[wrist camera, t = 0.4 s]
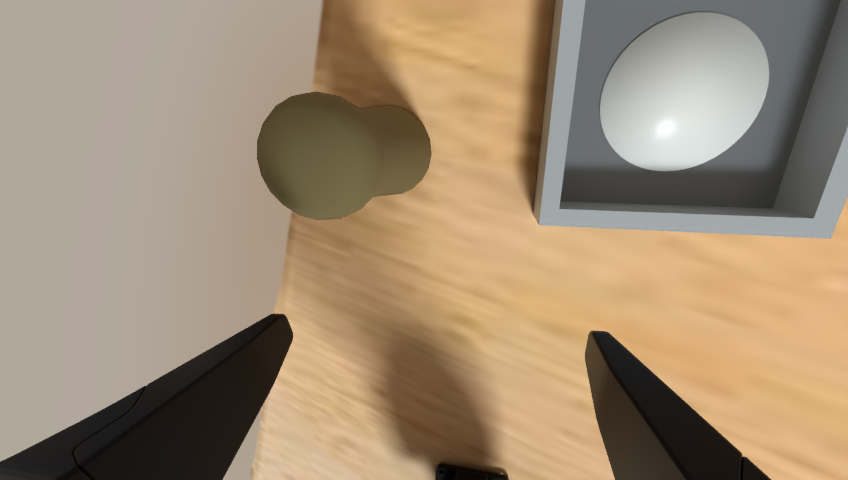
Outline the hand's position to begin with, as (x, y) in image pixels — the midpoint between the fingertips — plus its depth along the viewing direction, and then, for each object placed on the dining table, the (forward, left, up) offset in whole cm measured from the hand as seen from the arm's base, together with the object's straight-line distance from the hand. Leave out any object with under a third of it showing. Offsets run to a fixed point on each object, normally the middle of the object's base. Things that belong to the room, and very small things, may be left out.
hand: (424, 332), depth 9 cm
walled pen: (+8, -12, -14) cm, 20 cm away
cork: (+5, +5, -14) cm, 16 cm away
